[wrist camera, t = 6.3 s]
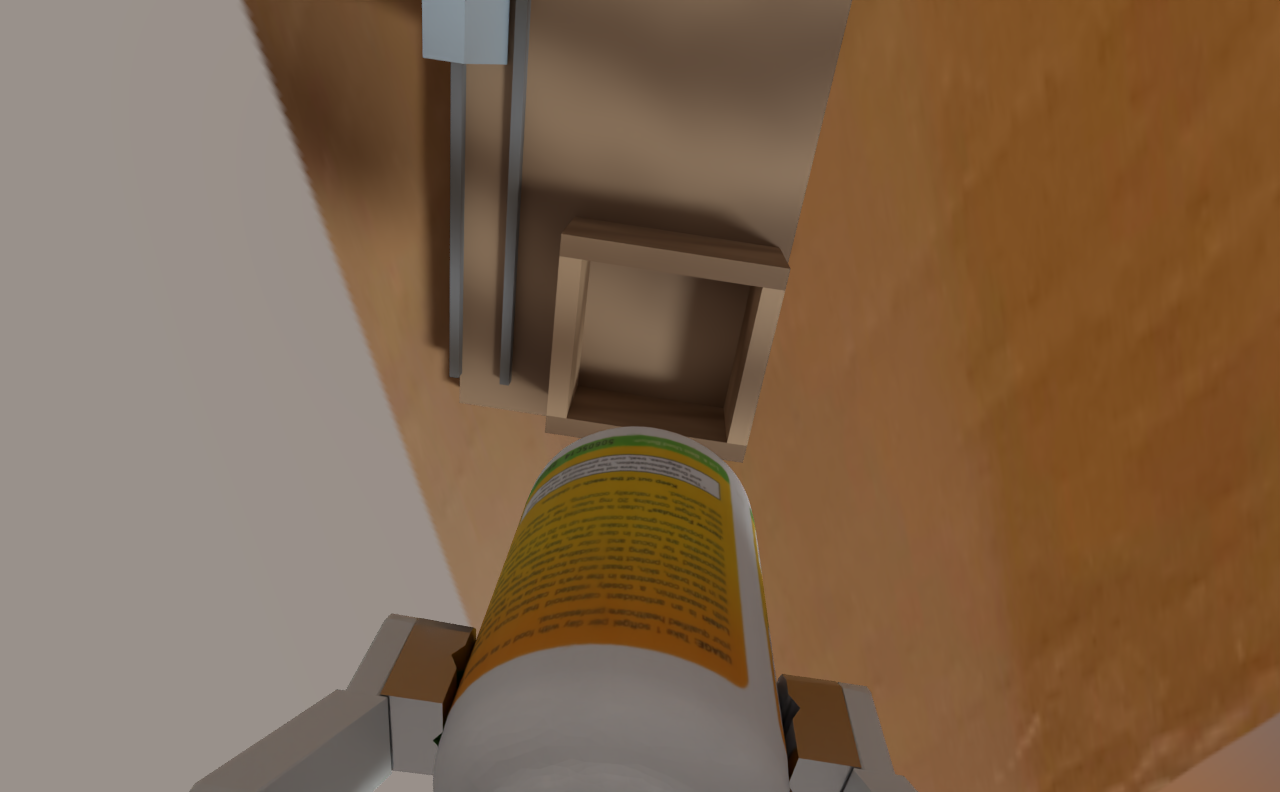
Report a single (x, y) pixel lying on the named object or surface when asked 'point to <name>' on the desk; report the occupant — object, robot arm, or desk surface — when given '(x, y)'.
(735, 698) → the supplement bottle
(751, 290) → the board
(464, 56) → the cover panel
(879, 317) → the desk surface
